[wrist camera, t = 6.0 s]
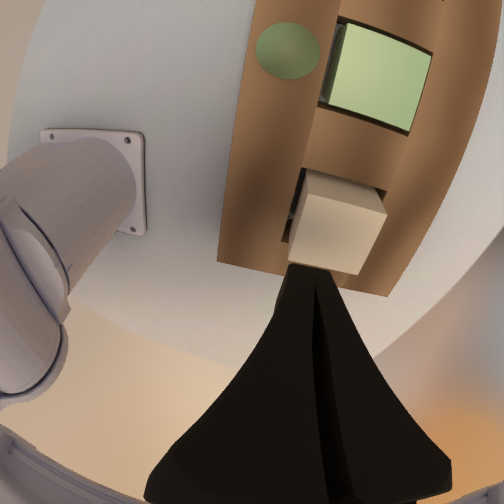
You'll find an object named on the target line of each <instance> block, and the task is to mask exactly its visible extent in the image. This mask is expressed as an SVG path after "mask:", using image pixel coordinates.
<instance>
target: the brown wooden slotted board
mask: <svg viewBox="0 0 504 504" xmlns="http://www.w3.org/2000/svg"><path fill="white" fill-rule="evenodd" d="M501 7H502V0H256V5H255V10H254V15H253V21H252V26H251V31H250V36H249V42H248V47H247V53H246V58H245V64H244V70H243V75H242V81H241V87H240V93H239V100H238V106H237V112H236V119H235V125H234V132H233V138H232V145H231V152H230V159H229V166H228V174H227V181H226V188H225V196H224V204H223V212H222V220H221V228H220V237H219V245H218V254H217V262H222V263H226V264H231V265H235V266H240V267H244V268H249V269H254V270H258V271H263V272H268V273H272V274H277V275H282V276H285V274H286V271H287V268H288V265H289V264H291V263H296V264H300V265H305V266H310V267H314V268H319V269H324V270H328V271H330V273H331V275H332V277H333V279H334V281H335V284H336V286H337V287H340V288H345V289H350V290H355V291H360V292H365V293H370V294H375V295H380V296H385V297H388V295H389V294H390V292H391V291H392V289H393V288H394V286H395V285H396V283H397V282H398V280H399V278H400V277H401V275H402V274H403V272H404V270H405V269H406V267H407V266H408V264H409V262H410V261H411V259H412V257H413V256H414V254H415V252H416V250H417V249H418V247H419V245H420V243H421V242H422V240H423V238H424V236H425V234H426V233H427V231H428V229H429V227H430V225H431V223H432V221H433V219H434V218H435V216H436V214H437V212H438V210H439V208H440V206H441V204H442V202H443V200H444V198H445V195H446V193H447V191H448V189H449V187H450V185H451V183H452V180H453V178H454V176H455V174H456V171H457V169H458V167H459V164H460V162H461V159H462V157H463V155H464V152H465V150H466V147H467V144H468V142H469V139H470V136H471V134H472V131H473V128H474V125H475V122H476V119H477V116H478V113H479V110H480V107H481V104H482V101H483V97H484V94H485V90H486V87H487V83H488V79H489V75H490V71H491V67H492V62H493V58H494V53H495V48H496V43H497V37H498V31H499V24H500V16H501ZM336 23H339V24H343V25H346V24H347V23H350V24H353V25H356V26H359V27H362V28H365V29H368V30H371V31H374V32H376V33H379V34H382V35H384V36H387V37H389V38H392V39H394V40H397V41H399V42H401V43H404V44H406V45H408V46H410V47H413V48H415V49H417V50H419V51H421V52H423V53H425V54H427V55H429V56H431V60H430V64H429V68H428V71H427V75H426V79H425V82H424V86H423V89H422V93H421V96H420V99H419V103H418V106H417V109H416V112H415V115H414V118H413V121H412V124H411V127H410V130H409V131H407V130H404V129H402V128H399V127H397V126H394V125H392V124H389V123H386V122H384V121H381V120H378V119H375V118H372V117H369V116H366V115H363V114H360V113H357V112H354V111H351V110H348V109H344V108H341V107H338V106H334V105H331V104H328V103H324V102H321V101H318V99H319V95H320V91H321V87H322V83H323V79H324V75H325V70H326V66H327V62H328V58H329V53H330V49H331V45H332V40H333V36H334V31H335V27H336ZM301 167H304V168H308V169H312V170H316V171H320V172H323V173H327V174H331V175H335V176H338V177H342V178H346V179H349V180H353V181H356V182H359V183H363V184H366V185H370V186H372V187H374V188H375V190H376V192H377V194H378V196H379V198H380V200H381V202H382V204H383V206H384V208H385V210H386V213H387V217H386V219H385V222H384V224H383V226H382V228H381V230H380V232H379V234H378V236H377V238H376V240H375V242H374V244H373V246H372V248H371V250H370V252H369V254H368V256H367V258H366V260H365V262H364V264H363V266H362V268H361V270H360V272H359V274H358V275H354V274H349V273H345V272H340V271H335V270H331V269H326V268H322V267H317V266H312V265H308V264H303V263H298V262H294V261H289V260H288V247H289V231H290V225H291V222H292V221H290V220H287V218H288V214H289V210H290V207H291V203H292V200H293V196H294V192H295V188H296V185H297V181H298V177H299V174H300V170H301Z"/></svg>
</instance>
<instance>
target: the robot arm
mask: <svg viewBox="0 0 504 504" xmlns="http://www.w3.org/2000/svg"><path fill="white" fill-rule="evenodd" d="M53 135H54V136H53ZM127 137H129V138H130V139H131V143H130V142H128V140H127ZM40 140H41V144H39V145H37V146H36V147H34V148H32V149H31V150H29V151H27V152H26V153H24V154H23V155H21V156H20V157H18V158H16V159H15V160H13V161H12V162H10V163H9V164H8V165H6V166H5V167H3V168H2V169H0V411H2V410H3V409H4V408H6V407H7V406H9V405H11V404H14V403H19V402H26V401H30V400H33V399H35V398H37V397H38V396H40V395H42V394H43V393H44V392H45V391H47V390H48V388H49V387H50V386H51V385H52V384H53V383H54V382H55V380H56V379H57V378H58V376H59V374H60V372H61V370H62V368H63V366H64V363H65V361H66V357H67V352H68V336H67V331H66V329H65V327H64V325H63V322H64V320H65V319H66V317H67V315H68V314H69V312H70V311H71V308H70V306H69V304H68V301H67V296H68V295H69V294H70V292H71V291H72V289H73V288H74V286H75V285H76V283H77V282H78V281H79V279H80V278H81V276H82V275H83V274H84V272H85V271H86V269H87V268H88V267H89V265H90V264H91V263H92V261H93V260H94V259H95V257H96V256H97V255H98V253H99V252H100V251H101V249H102V248H103V247H104V245H105V244H106V243H107V242H108V240H109V239H110V238H111V237H112V235H113V234H114V233H115V232H116V231H121V232H125V233H129V234H134V235H138V236H142V235H144V234H145V232H146V217H145V198H144V157H143V146H144V140H143V137H142V135H141V134H140V133H137V132H126V131H111V130H91V129H44V130H42V131H41V133H40ZM133 227H134V228H135V229H134V228H133ZM451 489H452V467H451V460H450V459H449V458H448V457H447V456H446V455H445V453H444V452H443V451H442V450H441V449H439V447H438V446H437V445H436V444H435V443H434V442H433V441H432V440H431V439H430V438H429V437H428V436H427V435H426V434H425V432H424V431H423V430H422V429H421V428H420V426H419V425H418V424H417V423H416V422H415V421H414V419H413V418H412V417H411V415H410V414H409V413H408V412H407V410H406V409H405V407H404V406H403V405H402V403H401V402H400V401H399V399H398V398H397V397H396V395H395V394H394V392H393V391H392V389H391V388H390V387H389V385H388V384H387V382H386V381H385V379H384V377H383V376H382V374H381V372H380V371H379V369H378V368H377V366H376V364H375V363H374V361H373V359H372V357H371V355H370V354H369V352H368V350H367V348H366V346H365V344H364V343H363V341H362V339H361V337H360V335H359V333H358V331H357V329H356V327H355V325H354V323H353V321H352V319H351V316H350V314H349V312H348V310H347V308H346V306H345V304H344V301H343V299H342V297H341V295H340V293H339V290H338V288H337V286H336V284H335V281H334V279H333V277H332V275H331V273H330V271H328V270H324V269H319V268H314V267H310V266H305V265H300V264H296V263H291V264H289V265H288V268H287V271H286V274H285V277H284V280H283V283H282V286H281V289H280V291H279V294H278V297H277V300H276V304H275V309H274V314H273V316H272V318H271V320H270V322H269V324H268V326H267V328H266V330H265V331H264V333H263V335H262V337H261V338H260V340H259V342H258V343H257V345H256V347H255V348H254V350H253V351H252V353H251V354H250V356H249V357H248V359H247V360H246V362H245V363H244V364H243V366H242V367H241V369H240V370H239V371H238V373H237V374H236V375H235V377H234V378H233V380H232V381H231V382H230V383H229V385H228V386H227V387H226V389H225V390H224V391H223V392H222V393H221V394H220V396H219V397H218V398H217V399H216V400H215V402H214V403H213V404H212V405H211V406H210V407H209V408H208V409H207V411H206V412H205V413H204V414H203V415H202V416H201V417H200V418H199V419H198V421H196V423H194V424H193V425H192V426H191V427H190V428H189V429H188V430H187V431H186V432H185V433H184V434H183V435H182V436H181V437H180V438H179V439H178V440H177V441H176V442H175V443H174V444H173V445H172V446H171V447H170V449H169V450H168V452H167V453H166V454H165V455H164V457H163V458H162V459H161V460H160V462H159V463H158V464H157V465H156V467H155V468H154V469H153V471H152V472H151V474H150V475H149V478H148V481H147V484H146V488H145V492H144V496H143V497H144V499H145V500H146V501H147V502H144V501H142V500H138V499H136V498H133V497H130V496H128V495H125V494H122V493H120V492H117V491H115V490H112V489H110V488H108V487H105V486H103V485H101V484H98V483H96V482H94V481H92V480H90V479H88V478H86V477H84V476H82V475H80V474H78V473H76V472H74V471H72V470H70V469H68V468H66V467H64V466H63V465H61V464H59V463H57V462H56V461H54V460H52V459H50V458H49V457H47V456H45V455H44V454H42V453H41V452H39V451H38V450H37V449H36V447H35V446H33V445H32V444H31V443H29V442H28V441H26V440H24V439H23V438H22V437H20V436H19V435H18V434H16V433H15V432H13V431H12V430H10V429H8V428H7V427H5V426H2V425H1V424H0V504H416V501H417V500H421V499H425V498H429V497H433V496H436V495H439V494H442V493H446V492H449V491H450V490H451ZM148 502H149V503H148ZM446 504H504V480H503V481H502V482H499V483H497V484H494V485H492V486H488V487H485V488H482V489H479V490H476V491H474V492H471V493H469V494H466V495H464V496H462V497H461V498H460V499H457V500H455V501H452V502H449V503H446Z"/></svg>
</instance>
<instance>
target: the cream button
mask: <svg viewBox="0 0 504 504" xmlns="http://www.w3.org/2000/svg"><path fill="white" fill-rule="evenodd" d="M386 217H387V213H386V210H385V208H384V206H383V204H382V202H381V200H380V198H379V196H378V194H377V192H376V190H375V188H374V187H372V186H369V185H365V184H362V183H359V182H355V181H352V180H348V179H345V178H341V177H337V176H334V175H330V174H326V173H322V172H318V171H314V170H310V169H306V172H305V176H304V179H303V183H302V187H301V190H300V194H299V197H298V201H297V204H296V208H295V211H294V215H293V218H292V222H291V225H290V231H289V247H288V260H289V261H294V262H298V263H303V264H308V265H312V266H317V267H322V268H326V269H331V270H335V271H340V272H345V273H349V274H354V275H358V274H359V272H360V270H361V268H362V266H363V264H364V262H365V260H366V258H367V256H368V254H369V252H370V250H371V248H372V246H373V244H374V242H375V240H376V238H377V236H378V234H379V232H380V230H381V228H382V226H383V224H384V222H385V219H386Z"/></svg>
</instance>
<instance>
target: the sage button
mask: <svg viewBox="0 0 504 504" xmlns="http://www.w3.org/2000/svg"><path fill="white" fill-rule="evenodd" d="M430 60H431V56H429V55H427V54H425V53H423V52H421V51H419V50H417V49H415V48H413V47H410V46H408V45H406V44H404V43H401V42H399V41H397V40H394V39H392V38H389V37H387V36H384V35H382V34H379V33H376V32H374V31H371V30H368V29H365V28H362V27H359V26H356V25H353V24H350V23H347V24H346V25H344V26H343V27H341V28H339V29H338V33H337V37H336V41H335V46H334V50H333V54H332V59H331V63H330V67H329V71H328V76H327V80H326V84H325V88H324V92H323V97H324V98H325V99H326V101H327V102H328V104H331V105H334V106H338V107H341V108H344V109H348V110H351V111H354V112H357V113H360V114H363V115H366V116H369V117H372V118H375V119H378V120H381V121H384V122H386V123H389V124H392V125H394V126H397V127H399V128H402V129H404V130H407V131H409V130H410V127H411V124H412V121H413V118H414V115H415V112H416V109H417V106H418V103H419V99H420V96H421V93H422V89H423V86H424V82H425V79H426V75H427V71H428V68H429V64H430Z"/></svg>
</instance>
